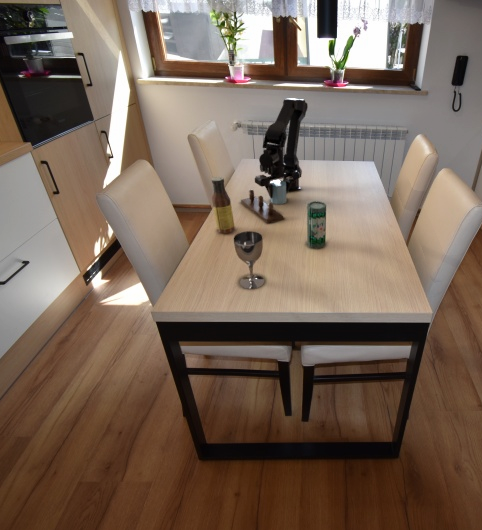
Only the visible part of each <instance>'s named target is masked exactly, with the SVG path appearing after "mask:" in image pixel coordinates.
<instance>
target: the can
mask: <svg viewBox="0 0 482 530" xmlns="http://www.w3.org/2000/svg"><path fill="white" fill-rule="evenodd" d="M306 229H307V231H306V232H307V233H306V236H307V237H306V238H307V241H306V244H307V246H308V248H311V249H317V250H319V249H322V248H324V247H325V246H326V240H327V239H326V235H327V234H326V233H327V230H326V229H327V204H326V203H325V202H323V201H318V200H314V201H310V202H308V203H307V206H306Z"/></svg>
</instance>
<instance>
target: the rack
mask: <svg viewBox="0 0 482 530" xmlns="http://www.w3.org/2000/svg"><path fill="white" fill-rule="evenodd" d="M248 196H249V197H247V198H243V199H240V203H241V204H242V205H243V206H244V207H246V208H247V209H248V210H250V211H251V212H252V213H253V214H255V215H256V216H257V217H258V218H260V219H261V220H262V221H264V222H265V224H271V223H275V222H278V221H282V220H284V215H283V214H282V213H280V212H279V211H278V210H276V209H275V208H274V203H272V202H268V203H266V202H264V197H263V196H262V195H259V196H255V191H254V189H252V188H250V189H249V190H248Z"/></svg>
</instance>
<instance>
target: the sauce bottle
mask: <svg viewBox="0 0 482 530" xmlns="http://www.w3.org/2000/svg"><path fill="white" fill-rule="evenodd" d="M211 184H212V186H213V187H212V188H213V195H212V197H211V200H212V207H213V213H214V219H215V224H216V228H217V231H218V232H219V233H220V234H231V233H232V232H234V231H235V221H234V213H233V208H232V201H231V198H230V196H229V194H228V191H227V189H226V187H225V179H224V177H222V176H215V177H214V176H213V177H212V178H211Z"/></svg>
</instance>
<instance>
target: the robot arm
mask: <svg viewBox="0 0 482 530" xmlns="http://www.w3.org/2000/svg"><path fill="white" fill-rule="evenodd" d="M308 105H309V104H308V103H307V102H306V100H305V99H300V98H284V99H283V101H282V106H281V108H280V110H279V112H278V115H277V117H276V120H275V121H274V122H273V123H271V124H270V125H269V126H268V128H267V130H266V131H265V133H264V138H263V143H262V149H263V151H262V153H261V154H260V156H259V158H258V161H259V171H260V173H264V174H267V175H269V176H266V175H264V174H259V175H256V176H255V177H254V183H255V184H257V185H258V186H260V187H264V189H266V191H267V193H268V196H269V198H271V199H272V196H273V185H272V184H271V182H272V181H276V180H281V179H282V181H284V182H286V190H287V194H288V193H291V192H294V191H299V190H301V189H302V188H301V187H300V181H299V180H300V178H302V176H303V175H302V174H303V170H302V168H301V167H300V161H299V159H298V158H299V157H298V156H297V152H298V144H299V137H300V130H301V124H302V121H303V120H304V118H305V117H306V114H307V111H308V107H309V106H308ZM287 128H288V133H287ZM285 145H286V147H285ZM285 148H286V149H285ZM284 151H285V152H284Z"/></svg>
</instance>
